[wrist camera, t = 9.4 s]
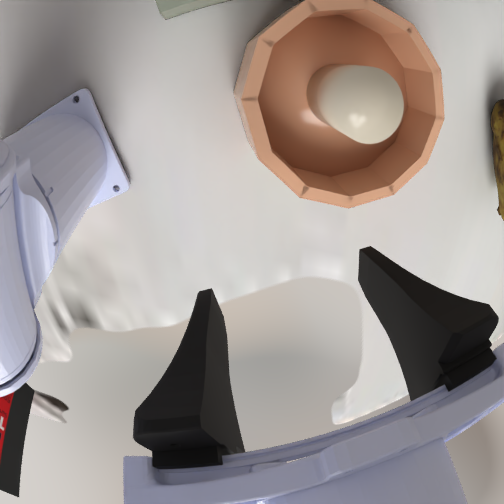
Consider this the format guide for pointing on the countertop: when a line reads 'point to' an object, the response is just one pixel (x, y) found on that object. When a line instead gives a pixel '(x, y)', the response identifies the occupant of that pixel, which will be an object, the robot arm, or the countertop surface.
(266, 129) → the bowl
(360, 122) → the cream rounded capsule
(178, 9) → the parts tray
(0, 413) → the cleaning product box
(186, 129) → the countertop surface
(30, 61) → the countertop surface
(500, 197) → the potato
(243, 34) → the countertop surface
